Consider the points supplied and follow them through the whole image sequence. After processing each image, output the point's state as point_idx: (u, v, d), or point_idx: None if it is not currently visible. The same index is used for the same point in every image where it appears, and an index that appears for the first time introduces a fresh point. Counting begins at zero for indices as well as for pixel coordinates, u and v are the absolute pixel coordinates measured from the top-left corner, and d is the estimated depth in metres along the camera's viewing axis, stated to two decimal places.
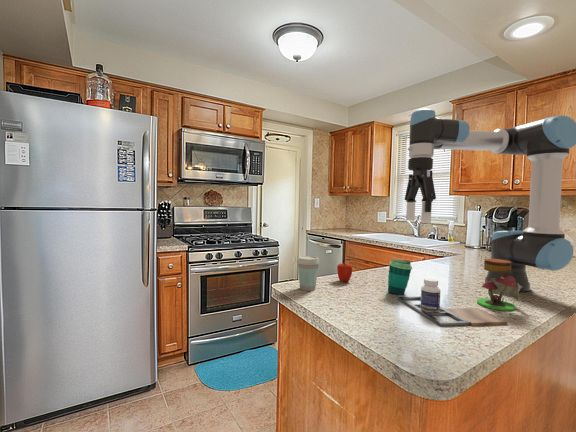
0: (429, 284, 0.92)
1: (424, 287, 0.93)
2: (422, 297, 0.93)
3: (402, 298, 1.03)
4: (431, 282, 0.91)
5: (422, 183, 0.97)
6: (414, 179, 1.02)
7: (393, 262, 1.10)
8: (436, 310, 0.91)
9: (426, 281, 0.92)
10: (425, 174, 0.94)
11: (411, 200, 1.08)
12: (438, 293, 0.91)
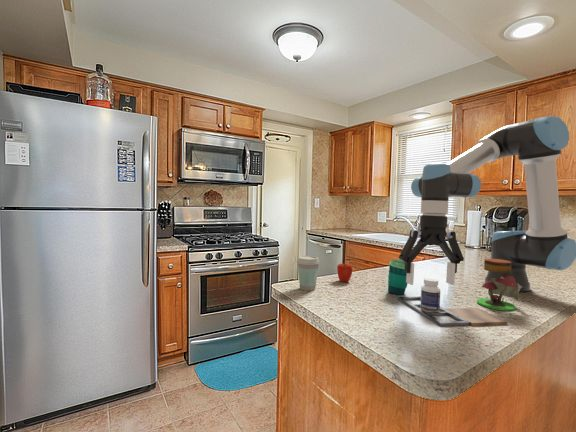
0: (429, 284, 0.92)
1: (424, 287, 0.93)
2: (422, 297, 0.93)
3: (402, 298, 1.03)
4: (431, 282, 0.91)
5: (419, 242, 0.93)
6: None
7: (393, 262, 1.10)
8: (436, 310, 0.91)
9: (426, 281, 0.92)
10: (410, 234, 0.92)
11: (453, 260, 0.94)
12: (438, 293, 0.91)
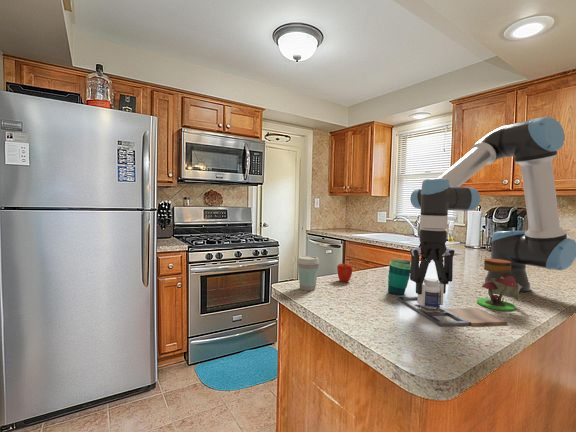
0: (429, 284, 0.92)
1: None
2: None
3: (402, 298, 1.03)
4: (431, 282, 0.91)
5: (422, 260, 0.93)
6: None
7: (393, 262, 1.10)
8: (436, 310, 0.91)
9: (426, 281, 0.92)
10: (411, 253, 0.93)
11: (441, 280, 0.93)
12: (438, 293, 0.91)
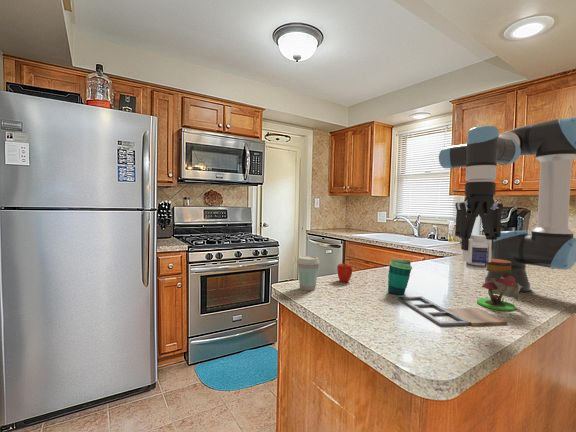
0: (476, 240, 0.86)
1: None
2: None
3: (402, 298, 1.03)
4: (479, 237, 0.86)
5: (468, 215, 0.88)
6: None
7: (393, 262, 1.10)
8: (484, 266, 0.85)
9: (473, 236, 0.87)
10: (456, 207, 0.87)
11: (489, 236, 0.88)
12: (486, 248, 0.86)
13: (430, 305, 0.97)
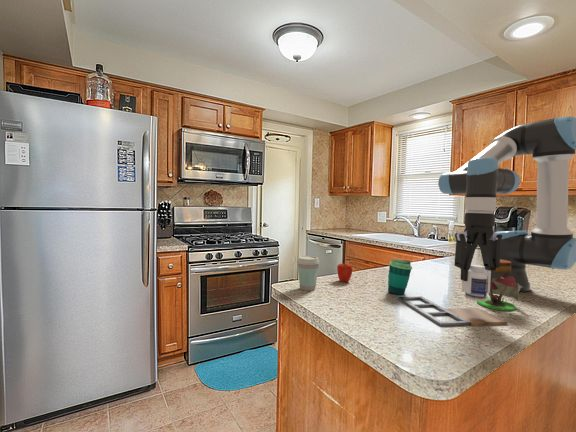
0: (476, 270, 0.86)
1: None
2: None
3: (402, 298, 1.03)
4: (478, 268, 0.86)
5: (467, 245, 0.88)
6: None
7: (393, 262, 1.10)
8: (483, 298, 0.86)
9: (472, 267, 0.87)
10: (456, 238, 0.88)
11: (488, 266, 0.88)
12: (486, 280, 0.86)
13: (430, 305, 0.97)
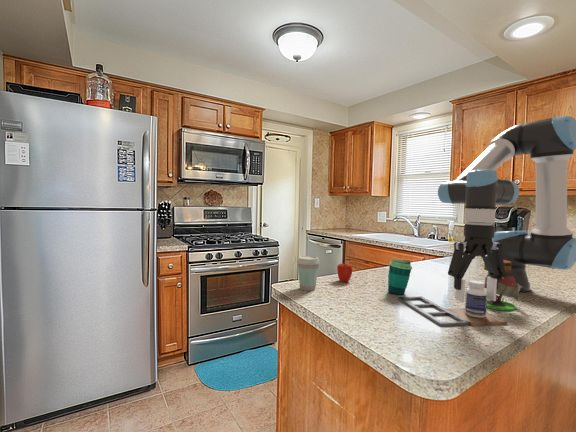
0: (475, 287, 0.87)
1: (469, 290, 0.88)
2: (468, 300, 0.88)
3: (402, 298, 1.03)
4: (478, 284, 0.86)
5: (465, 255, 0.88)
6: None
7: (393, 262, 1.10)
8: (483, 314, 0.86)
9: (472, 283, 0.87)
10: (454, 247, 0.88)
11: (494, 275, 0.89)
12: (485, 296, 0.86)
13: (430, 305, 0.97)
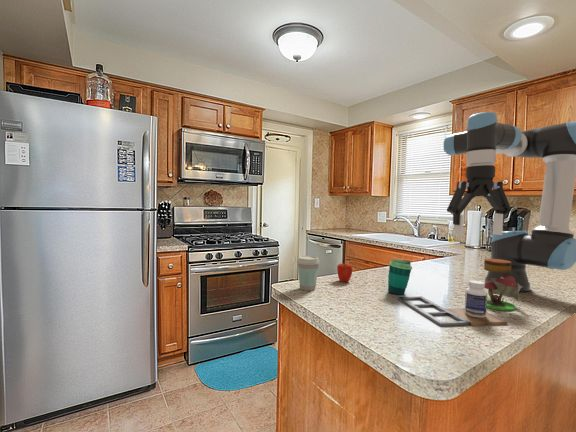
0: (475, 287, 0.87)
1: (469, 290, 0.88)
2: (468, 300, 0.88)
3: (402, 298, 1.03)
4: (478, 284, 0.86)
5: (466, 194, 0.92)
6: None
7: (393, 262, 1.10)
8: (483, 314, 0.86)
9: (472, 283, 0.87)
10: (457, 186, 0.92)
11: (500, 211, 0.93)
12: (485, 296, 0.86)
13: (430, 305, 0.97)
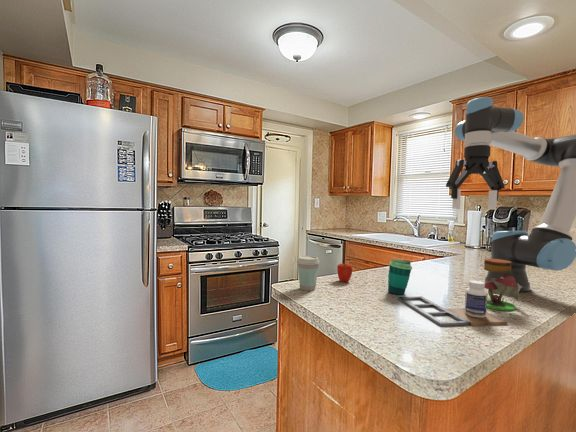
0: (475, 287, 0.87)
1: (469, 290, 0.88)
2: (468, 300, 0.88)
3: (402, 298, 1.03)
4: (478, 284, 0.86)
5: (464, 172, 1.02)
6: None
7: (393, 262, 1.10)
8: (483, 314, 0.86)
9: (472, 283, 0.87)
10: (456, 164, 1.02)
11: (494, 188, 1.03)
12: (485, 296, 0.86)
13: (430, 305, 0.97)
